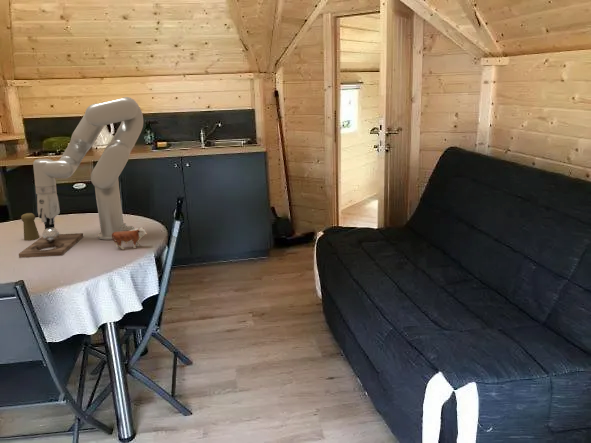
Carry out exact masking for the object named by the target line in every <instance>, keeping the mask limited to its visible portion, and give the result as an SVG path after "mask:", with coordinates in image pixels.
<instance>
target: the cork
mask: <svg viewBox="0 0 591 443" xmlns="http://www.w3.org/2000/svg"><path fill="white" fill-rule="evenodd" d="M20 220H21V222H23V239H24V241H34V240H38V239H40V238H41V236H40V234H39V231H38V228H37V225H36V222H35V220H36V215H35V214H34V213H32V212H26V213H24V214H22V215H20Z"/></svg>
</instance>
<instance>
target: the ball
mask: <svg viewBox="0 0 591 443" xmlns="http://www.w3.org/2000/svg"><path fill="white" fill-rule="evenodd" d="M59 234H60V233H59V230H58V229H57V228H53V227H49V228H46V229H45V228H44V230H43V232H42V237H43V238H44V239H45V240H46V241H48V242H54V241H56V240H57V239H58V237H59Z"/></svg>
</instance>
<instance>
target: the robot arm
mask: <svg viewBox="0 0 591 443" xmlns="http://www.w3.org/2000/svg"><path fill="white" fill-rule="evenodd" d="M116 123H120V125H119V126H118V128H117V130H116V132H115V134H114V136H113V137H112V139H111V140H110V142H109V143H108V144H107V145H106V147H105V148H104V150H103V152H102V154H101V155H100V157H99V159H98V161H97V163H96V165H95V166H94V167H93V169H92V171H91V172H90V181H91V183H92V185H93V187H94V191H95V193H94V194H95V199H96V206H97V214H98V220H99V228H100V232H99V233H98V234H97V238H98V239H100V240H103V241H104V240H109V241H110V240H113V239H112V234H113V233H114V232H121V231H130V230H134V229H135V226H133V225H127V224H126V222H124V217H123V216H124V214H123V208H122V201H121V200H122V199H121V193H120V192H121V191H120V182H119V176H120V175H121V174H122V172H123V170H124V168H125V167H126V164H127V162H128V161H129V159H130V156H131V155H130V154H131V153H132V151H133V149H134V146H135V145H136V143H137V141H138V139H139V137H140V135H141V133H142V131H143V128H144V115H143V111H142V109H141V107H140V106H139V104H138V102H137V101H136V100H135V99H133V98H132V97H128V96H124V97H122V98H117V99H113V100H110V101H104V102H100V103H96V102H95V103H93V104H90V105H89V106H87V108H86V109H85V112H84V115H83V116H82V118H81V119H80V120H79V123H78V124H77V126H76V128H75V129H74V131H73V132H72V134H71V138H70V141H69V143H68V145H67V147H66V148H65V150H64V151H63V153H62V155H61V156H60V158H59V159H58V160H53V159H50V158H38V159H35V160H34V161H33V163H32V164H33V166H32V167H33V174H34V177H33V178H34V185H35V186H34V187H35V194H36V197H37V198H36V203H37V204H36V206H37V214H38V215H37V216H38V218H39V219H40V220H41V223H43V224H44V230H45V229H46V228H49V227H53V228H55V218H56V217H57V216H58V215H59V214H60V213H61V212H60V211H61V210H60V202H59V196H58V194H57V193H58V192H57V182H56V181H57V180H56V178H57V179H69V178H70V177H72V176H73V175H74V173H75V172H76V171H77V169H78V168H79V166H80V164H81V163H82V161H83V159H84V157H85V156H86V154H87V153H89V152H88V151H89V150H91V148H92V146H94V143H95V142H96V141H97V139H98V137H99V135H101V134H100V133H101V132H102V131H103V130H104V127H105V126H107V125H113V124H116ZM113 238H114V237H113Z"/></svg>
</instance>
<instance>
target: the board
mask: <svg viewBox="0 0 591 443" xmlns="http://www.w3.org/2000/svg"><path fill="white" fill-rule="evenodd" d="M83 237H84V233H83V232H78V233H59V237H58V239H57V240H56V241H54V242H48V241H46V240H45V239H44V238H43V236H40V238H38V239H36V241H34V242H33V243H31V244H30V245H29V246H28V247H26V248H25V249H23V250H22V251H21V252H19V253H18V257H19V258H36V257H49V256H50V257H57V256H63V255H64V254H66V253H67V252H68V251H69V250H70V249H71V248H72V247H74V246H75V244H77V243H78V242H79V241H80V240H81V239H82V238H83ZM47 248H50V249H47Z"/></svg>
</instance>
